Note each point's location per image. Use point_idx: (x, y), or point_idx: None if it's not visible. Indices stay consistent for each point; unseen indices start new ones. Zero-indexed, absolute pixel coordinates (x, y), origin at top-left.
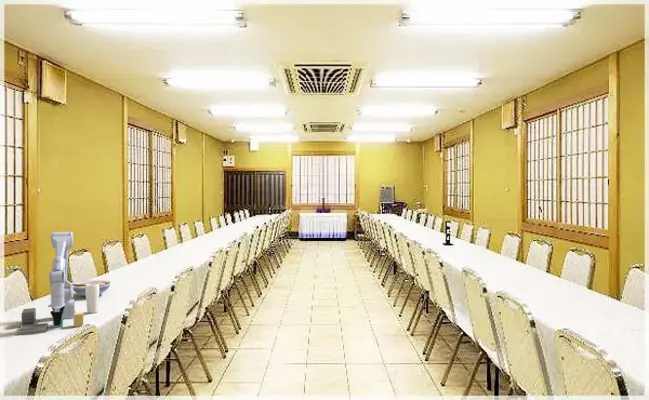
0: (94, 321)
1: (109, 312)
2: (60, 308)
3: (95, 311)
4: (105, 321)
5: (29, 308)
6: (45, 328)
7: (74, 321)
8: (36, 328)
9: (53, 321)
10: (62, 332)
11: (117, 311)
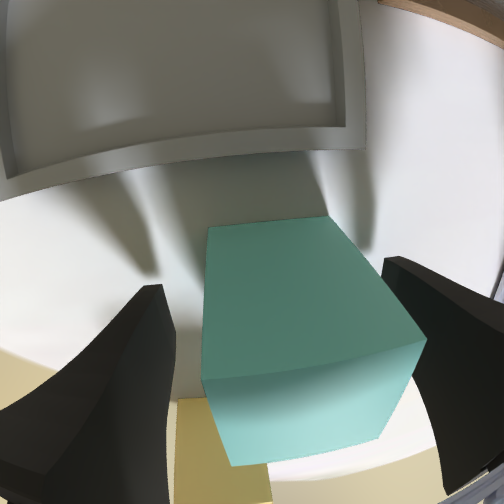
0: None
1: None
2: (467, 450)
3: None
4: (279, 474)
5: None
6: (17, 190)
7: (176, 448)
8: (141, 17)
9: (206, 289)
10: (29, 339)
11: (433, 445)
